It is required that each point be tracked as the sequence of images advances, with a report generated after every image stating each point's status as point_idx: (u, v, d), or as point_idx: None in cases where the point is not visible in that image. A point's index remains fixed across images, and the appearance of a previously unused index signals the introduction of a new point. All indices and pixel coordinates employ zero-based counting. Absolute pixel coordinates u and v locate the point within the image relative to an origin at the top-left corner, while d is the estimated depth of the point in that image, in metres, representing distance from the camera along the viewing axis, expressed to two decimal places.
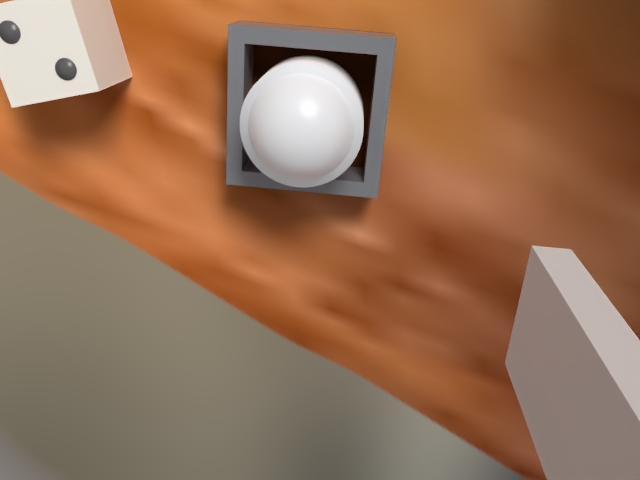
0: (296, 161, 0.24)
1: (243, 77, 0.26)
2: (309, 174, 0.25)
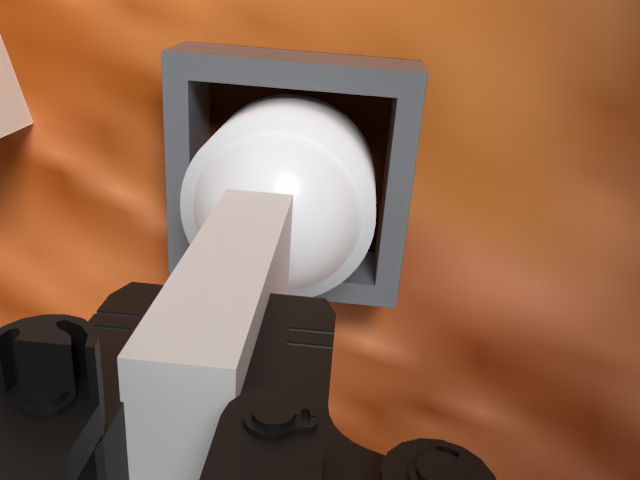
0: None
1: (188, 131, 0.17)
2: (290, 287, 0.16)
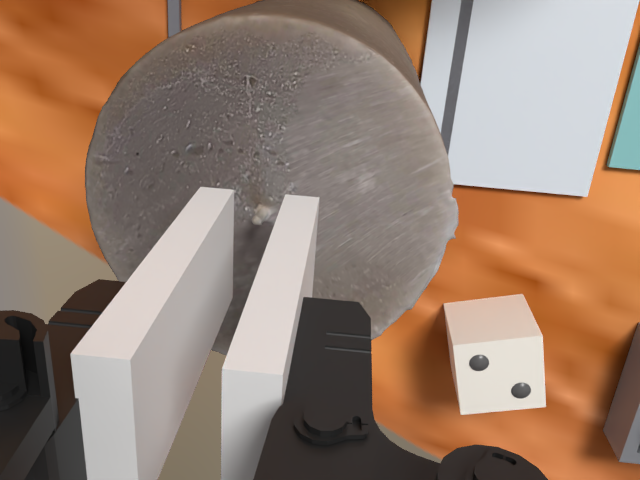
0: None
1: None
2: None
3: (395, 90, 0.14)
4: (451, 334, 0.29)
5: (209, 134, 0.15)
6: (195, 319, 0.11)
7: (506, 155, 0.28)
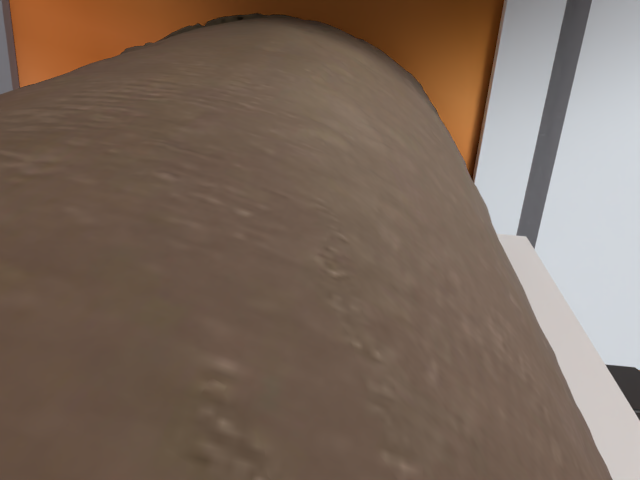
0: None
1: None
2: None
3: None
4: None
5: None
6: None
7: (628, 313, 0.15)
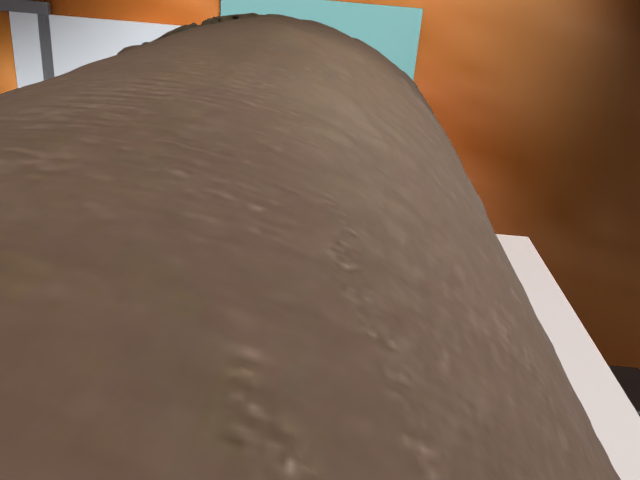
0: None
1: None
2: None
3: None
4: None
5: None
6: None
7: None
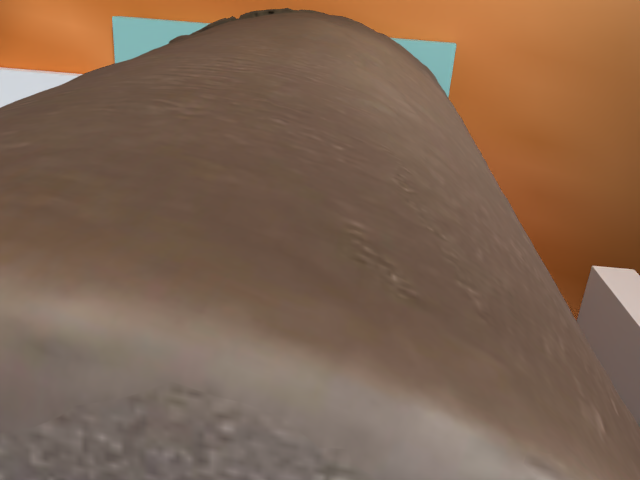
0: None
1: None
2: None
3: None
4: None
5: None
6: None
7: None
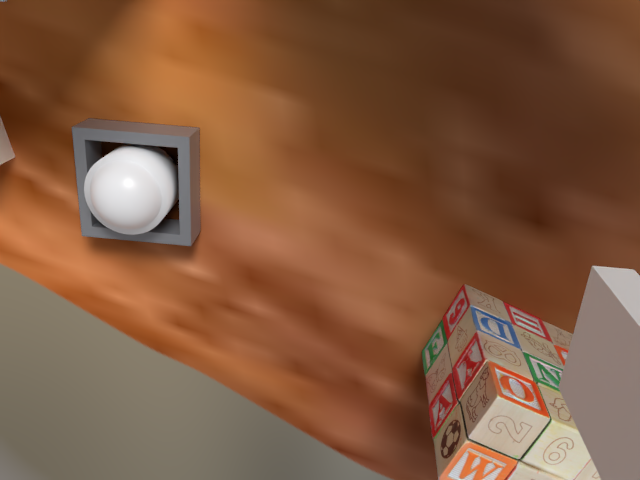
0: (119, 219, 0.35)
1: (86, 162, 0.37)
2: (131, 226, 0.36)
3: None
4: None
5: None
6: None
7: None
